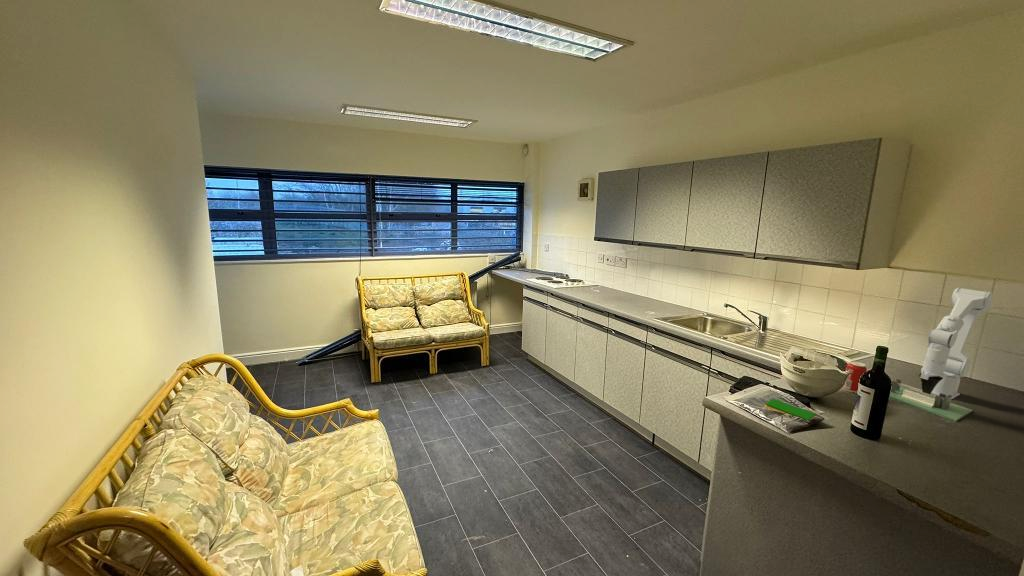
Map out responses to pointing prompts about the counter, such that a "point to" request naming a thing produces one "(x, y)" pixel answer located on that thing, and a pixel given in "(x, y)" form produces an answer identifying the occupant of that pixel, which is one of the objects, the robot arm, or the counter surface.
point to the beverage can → (854, 375)
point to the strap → (917, 390)
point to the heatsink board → (928, 402)
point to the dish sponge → (789, 409)
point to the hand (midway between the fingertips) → (926, 392)
